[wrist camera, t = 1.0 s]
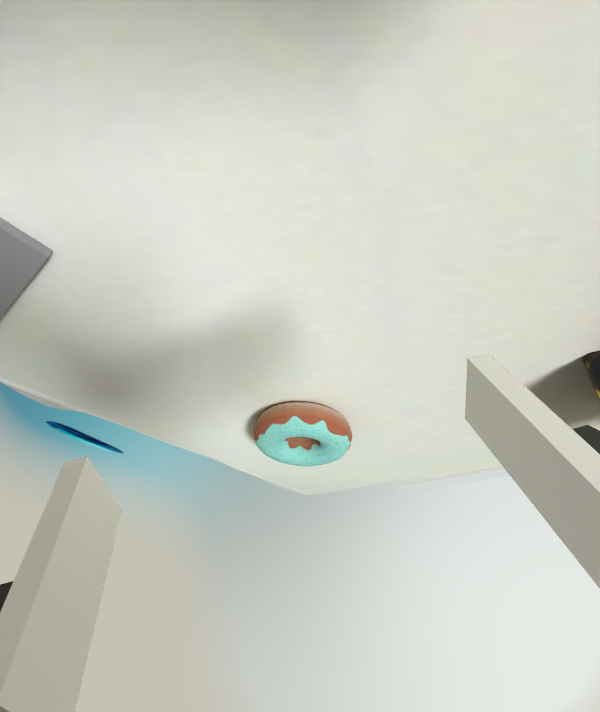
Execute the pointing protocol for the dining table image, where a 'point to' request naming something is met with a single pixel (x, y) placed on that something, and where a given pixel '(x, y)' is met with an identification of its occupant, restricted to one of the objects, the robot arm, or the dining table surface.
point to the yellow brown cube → (593, 369)
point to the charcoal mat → (17, 262)
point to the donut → (302, 434)
